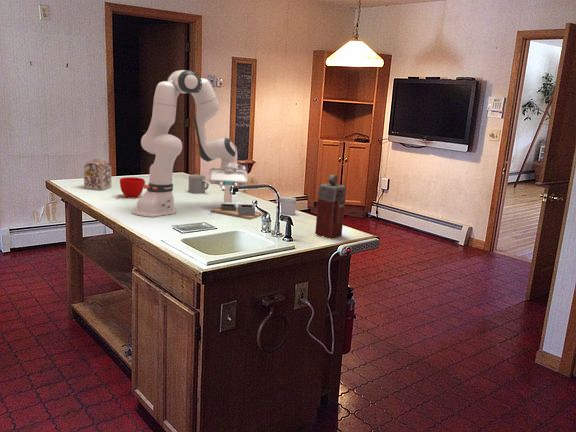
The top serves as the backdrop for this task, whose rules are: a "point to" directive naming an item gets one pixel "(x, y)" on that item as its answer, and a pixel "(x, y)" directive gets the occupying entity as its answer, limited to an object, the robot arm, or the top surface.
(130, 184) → the ceramic cup
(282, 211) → the medicine box
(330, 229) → the brown rectangular canister
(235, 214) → the board
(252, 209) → the block
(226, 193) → the plug
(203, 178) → the coffee mug
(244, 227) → the top surface
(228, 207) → the holster
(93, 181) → the decorative jar
